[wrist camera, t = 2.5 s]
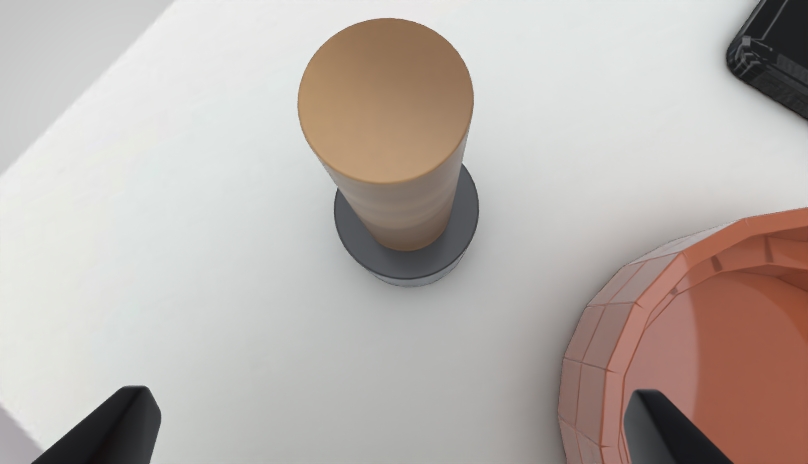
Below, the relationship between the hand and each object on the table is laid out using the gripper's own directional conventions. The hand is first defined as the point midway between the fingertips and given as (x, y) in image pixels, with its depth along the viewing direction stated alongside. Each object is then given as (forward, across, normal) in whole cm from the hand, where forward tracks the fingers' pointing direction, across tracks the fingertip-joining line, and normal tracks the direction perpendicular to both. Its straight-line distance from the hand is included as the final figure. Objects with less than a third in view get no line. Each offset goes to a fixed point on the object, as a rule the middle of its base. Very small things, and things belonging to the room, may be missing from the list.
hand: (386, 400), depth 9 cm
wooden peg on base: (+12, 0, +4) cm, 13 cm away
